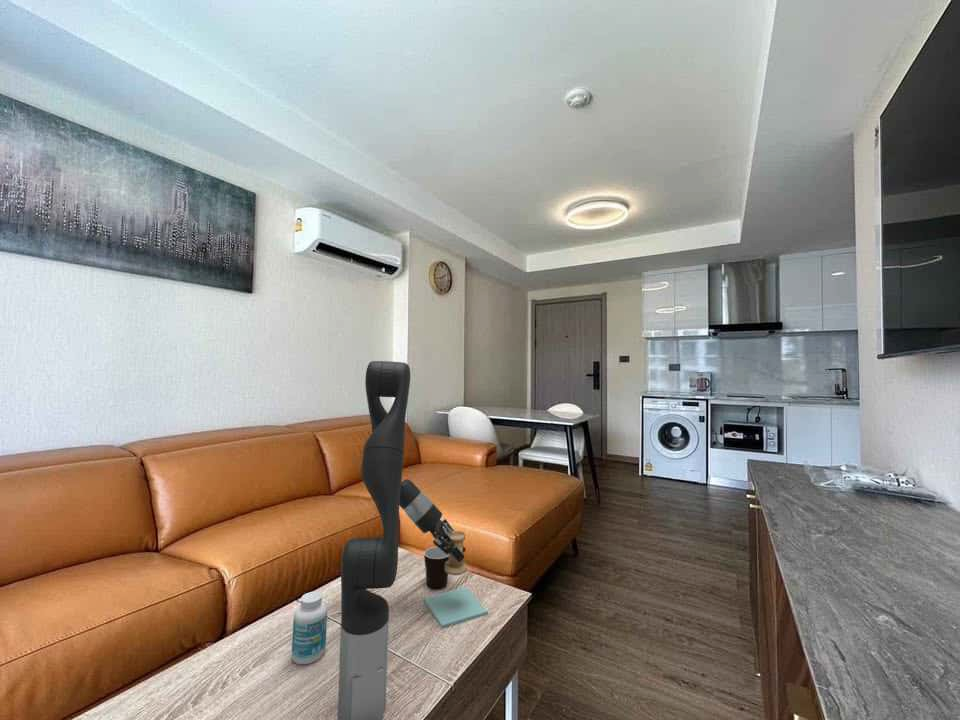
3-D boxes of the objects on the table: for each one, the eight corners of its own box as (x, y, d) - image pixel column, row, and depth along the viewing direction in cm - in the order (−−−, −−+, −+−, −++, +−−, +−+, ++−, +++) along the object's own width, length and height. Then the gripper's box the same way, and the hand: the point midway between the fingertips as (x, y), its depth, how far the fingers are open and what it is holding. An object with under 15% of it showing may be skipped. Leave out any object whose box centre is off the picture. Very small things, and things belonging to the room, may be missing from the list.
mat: (487, 614, 110) (487, 611, 110) (441, 628, 103) (442, 625, 103) (465, 589, 122) (465, 587, 122) (423, 600, 116) (423, 598, 116)
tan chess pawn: (470, 571, 112) (471, 536, 113) (450, 577, 109) (451, 540, 109) (459, 562, 118) (460, 528, 118) (440, 567, 114) (441, 532, 115)
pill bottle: (288, 669, 88) (291, 607, 89) (294, 647, 95) (297, 590, 96) (323, 663, 90) (326, 603, 91) (327, 642, 97) (329, 586, 98)
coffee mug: (445, 593, 120) (446, 560, 120) (419, 589, 122) (420, 557, 122) (455, 574, 131) (456, 544, 132) (431, 571, 133) (432, 541, 134)
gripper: (428, 511, 107) (471, 558, 106) (435, 495, 121) (473, 536, 121) (408, 530, 107) (451, 577, 106) (417, 512, 121) (455, 553, 121)
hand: (462, 555), depth 113 cm, fingers closed on tan chess pawn, 4 cm apart
